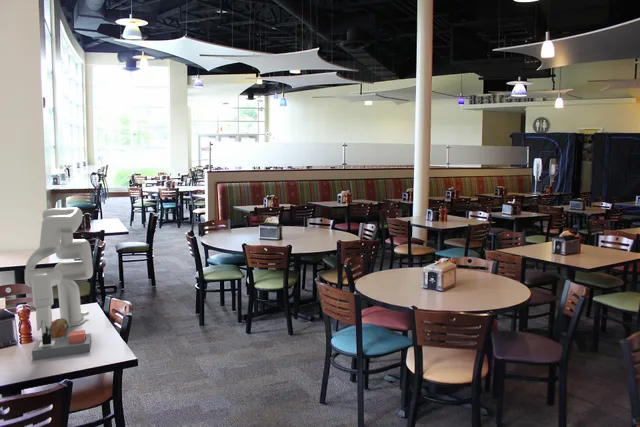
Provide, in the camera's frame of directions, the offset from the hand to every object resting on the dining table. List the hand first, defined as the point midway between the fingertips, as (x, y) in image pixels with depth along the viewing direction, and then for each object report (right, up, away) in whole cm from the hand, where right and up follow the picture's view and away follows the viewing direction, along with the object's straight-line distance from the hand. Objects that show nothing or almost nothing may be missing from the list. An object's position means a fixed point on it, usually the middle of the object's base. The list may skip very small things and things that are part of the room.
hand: (47, 343), depth 233 cm
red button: (+11, 0, +4) cm, 12 cm away
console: (+6, -4, +3) cm, 7 cm away
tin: (-5, -2, +19) cm, 20 cm away
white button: (0, -4, +1) cm, 4 cm away
